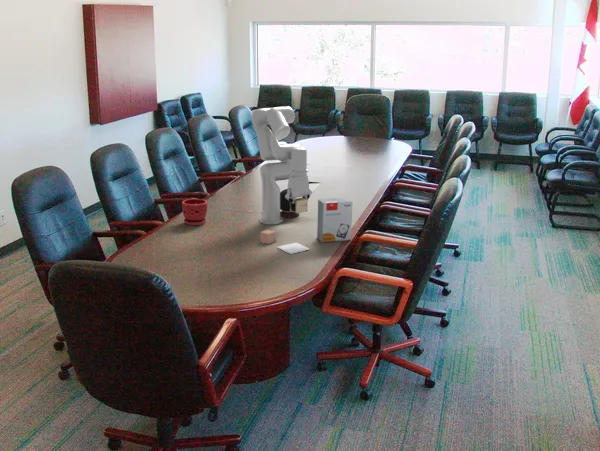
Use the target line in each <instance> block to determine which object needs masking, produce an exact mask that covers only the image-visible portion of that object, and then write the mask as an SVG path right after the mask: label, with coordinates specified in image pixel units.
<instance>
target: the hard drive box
mask: <svg viewBox="0 0 600 451" xmlns="http://www.w3.org/2000/svg"><path fill="white" fill-rule="evenodd" d="M317 202H318V204H317V229H316V230H317V233H316V238H317V239H318V240H319V242H321V243H327V242H329V243H331V242H338V241H341V242H342V241H351V238H352V219H353V218H352V217H353V214H352V213H353V201H352V200H351V199H350V198H349V197H337V198H320V199H318V200H317Z"/></svg>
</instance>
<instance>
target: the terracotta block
mask: <svg viewBox="0 0 600 451" xmlns="http://www.w3.org/2000/svg"><path fill="white" fill-rule="evenodd" d="M260 242H261V243H264V244H268V245H270V244H272V243H274V242H276V231H274V230H270V229H266V230H265V229H264V230H263V231H260Z"/></svg>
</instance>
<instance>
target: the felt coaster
mask: <svg viewBox="0 0 600 451" xmlns="http://www.w3.org/2000/svg"><path fill="white" fill-rule="evenodd" d="M276 248H277V249H278V248H279V249H278V250H280V249H281V250H280V251H282V250H283V252H284V251H285V253H286V252H287V253H286V254H288V253H289V254H288V255H290V254H291V255H294V253H295V254H298V252H299V253H303V252H307V251H306V250H308V251H310V250H311V249H310V248H309V247H306V246H305V245H303V244H300V243H298V242H293V243H287V244H283V245H279V246H276Z"/></svg>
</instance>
